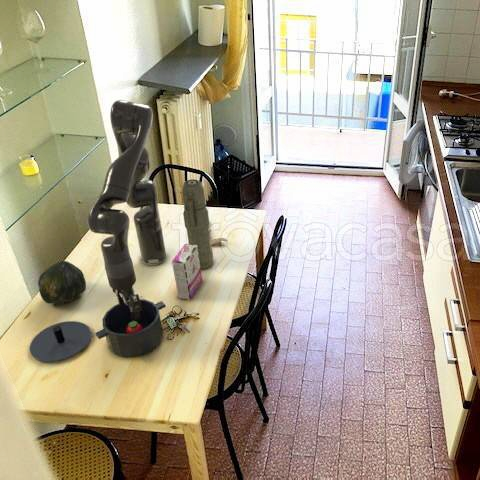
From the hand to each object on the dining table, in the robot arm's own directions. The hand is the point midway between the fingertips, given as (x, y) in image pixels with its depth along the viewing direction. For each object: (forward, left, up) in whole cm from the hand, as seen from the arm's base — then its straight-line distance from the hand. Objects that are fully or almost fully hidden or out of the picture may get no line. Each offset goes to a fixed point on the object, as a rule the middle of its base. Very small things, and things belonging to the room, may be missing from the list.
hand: (129, 312), depth 157 cm
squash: (-36, -8, -11) cm, 39 cm away
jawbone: (-35, +54, -11) cm, 65 cm away
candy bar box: (-10, +26, -11) cm, 30 cm away
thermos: (-21, +38, -11) cm, 45 cm away
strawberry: (0, 0, -11) cm, 11 cm away
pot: (0, 0, -11) cm, 11 cm away
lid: (-14, -18, -11) cm, 25 cm away
